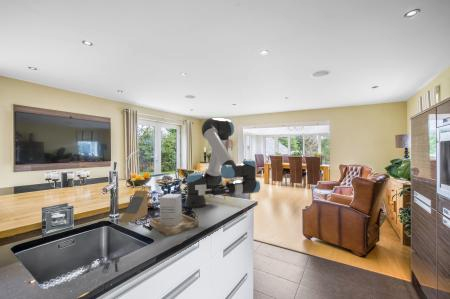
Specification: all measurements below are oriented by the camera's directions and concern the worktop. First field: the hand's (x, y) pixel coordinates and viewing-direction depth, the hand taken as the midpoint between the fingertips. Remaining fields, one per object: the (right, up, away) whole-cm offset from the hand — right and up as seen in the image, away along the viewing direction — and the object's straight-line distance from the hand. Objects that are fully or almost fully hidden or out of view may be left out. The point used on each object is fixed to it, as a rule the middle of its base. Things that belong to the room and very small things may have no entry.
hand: (196, 189), depth 115 cm
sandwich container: (-39, -19, +11) cm, 45 cm away
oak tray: (-12, -18, -4) cm, 22 cm away
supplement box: (-13, -17, -4) cm, 22 cm away
